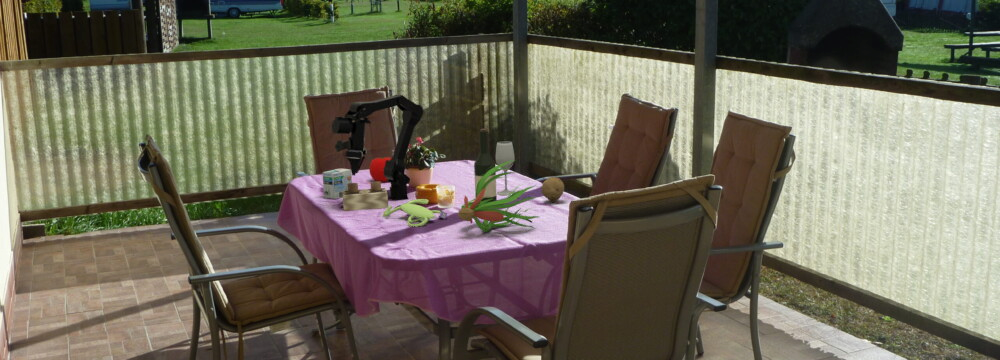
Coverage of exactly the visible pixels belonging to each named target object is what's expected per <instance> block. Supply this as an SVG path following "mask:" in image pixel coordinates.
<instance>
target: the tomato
mask: <svg viewBox="0 0 1000 360" xmlns="http://www.w3.org/2000/svg"><path fill="white" fill-rule="evenodd" d="M391 158H392V157H389V156H382V155H381V157H379V156H378V157H376V158H374V159H372V161H371V162H370V163H369V164H370V165H369V174H370V177H371V178H372V179H373V180H374V181H380V182H381V183H383V182H385V183H386V182H387V183H388V180H387V178H386V177H385V175H384V170H383V168H384V166H385V162H386V160H391Z"/></svg>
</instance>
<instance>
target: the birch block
mask: <svg viewBox="0 0 1000 360" xmlns="http://www.w3.org/2000/svg"><path fill="white" fill-rule="evenodd" d="M342 196H343V197H342V208H343V211H344V212H348V211H349V212H350V210H351V211H362V210H361V209H365V210H376V209H387V208H388V207H389V200H388V199H389V197H388V191H387V189H386V187H381V191H376V192H371V188H365V189H364V188H363V189H358V193H348V191H342Z"/></svg>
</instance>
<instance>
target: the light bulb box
mask: <svg viewBox="0 0 1000 360" xmlns="http://www.w3.org/2000/svg"><path fill="white" fill-rule="evenodd" d="M352 177H353V175H352V172H351V169H348V168H342V167H341V168H335V169H331V170H327V171H323V172H322V184H323V185H322V186H323V198H326V199H332V200H336V199H340V198H343V196H342V191H348V186H347V184H348V183H353V179H352Z"/></svg>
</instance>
